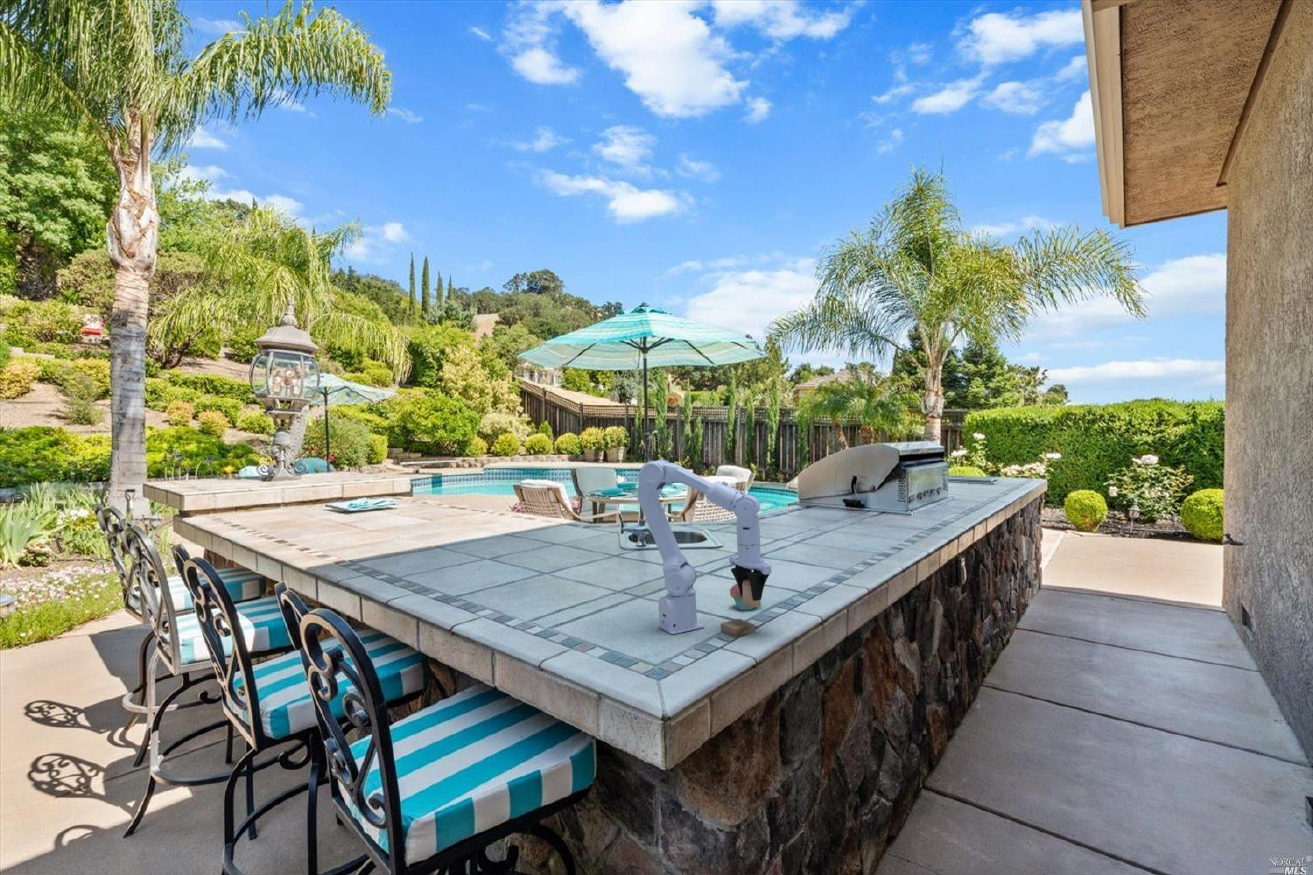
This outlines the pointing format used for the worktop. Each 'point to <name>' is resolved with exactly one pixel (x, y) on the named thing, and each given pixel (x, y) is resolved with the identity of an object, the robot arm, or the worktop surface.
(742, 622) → the base
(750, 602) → the jar
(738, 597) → the cupcake
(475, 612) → the worktop surface
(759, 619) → the worktop surface
